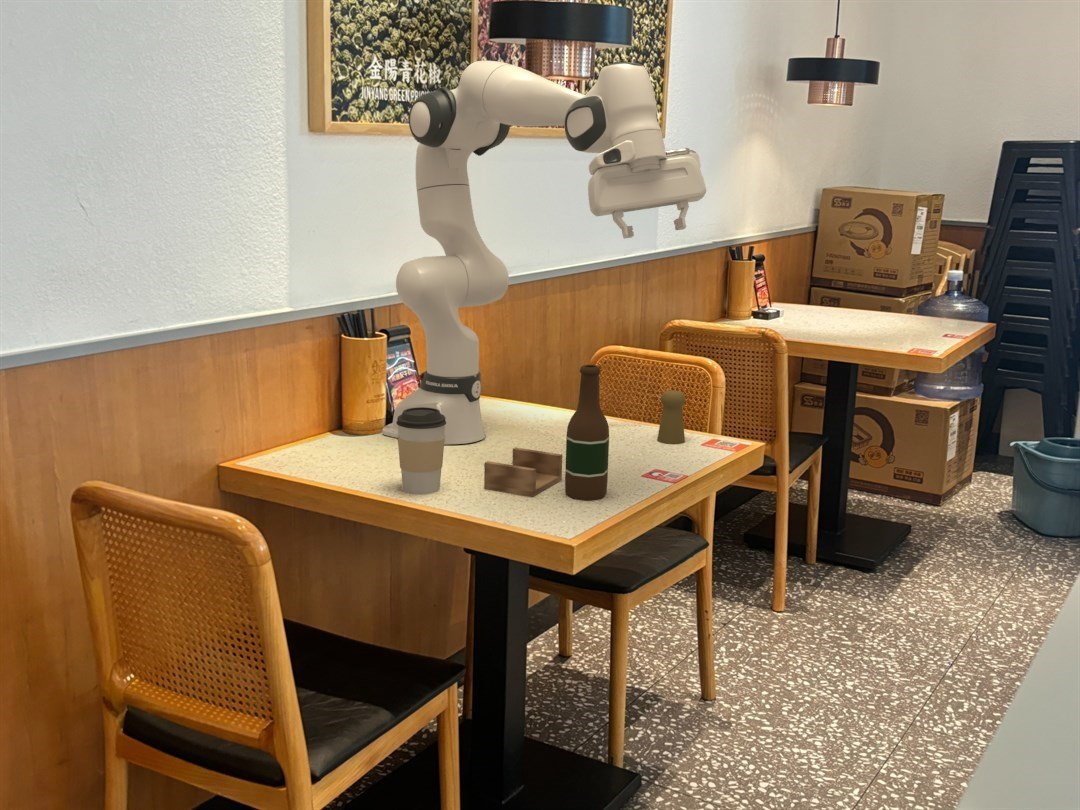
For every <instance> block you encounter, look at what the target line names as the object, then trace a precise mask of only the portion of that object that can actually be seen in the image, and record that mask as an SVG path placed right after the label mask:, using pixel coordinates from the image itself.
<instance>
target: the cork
mask: <svg viewBox="0 0 1080 810" xmlns="http://www.w3.org/2000/svg"><path fill="white" fill-rule="evenodd" d="M660 401H661V404H662V410H661V417H660V422H659V428H658V434H657V439H656V440H657V441H658V442H659V443H662V444H665V445H666V444H667V445H681V444H684V443H685V442H686V440H685V439H686V438H685V427H684V425H685V423H684V412H683V407H684V405H685V403H686V395H685V393H684V392H682V391H680V390H671V389H670V390H665V391H663V393H661V397H660Z"/></svg>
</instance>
